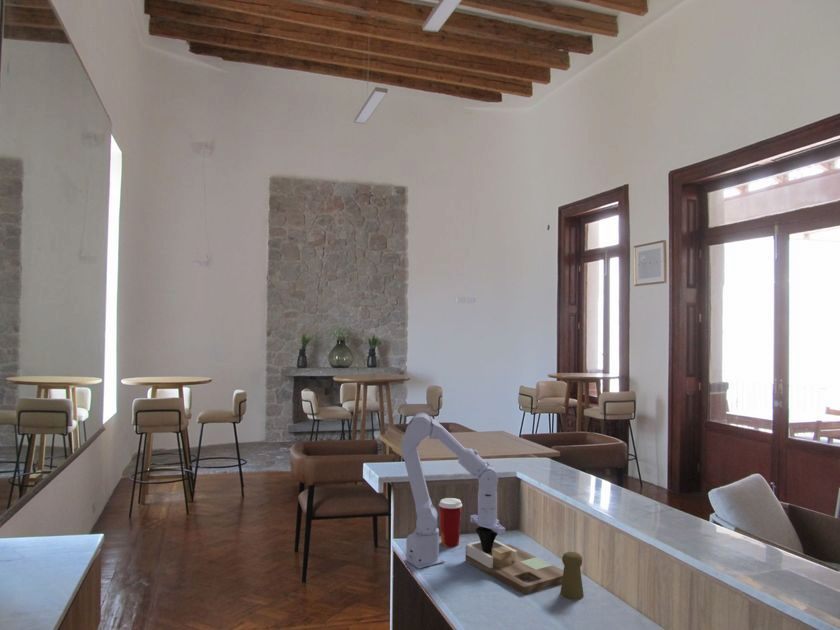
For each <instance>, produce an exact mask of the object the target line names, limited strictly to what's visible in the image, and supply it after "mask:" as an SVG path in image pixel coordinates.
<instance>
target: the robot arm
mask: <svg viewBox="0 0 840 630" xmlns="http://www.w3.org/2000/svg"><path fill="white" fill-rule="evenodd" d="M428 436H429V438H428V439H430V440H438V441H440V442H441V443H442V444H443V445H444V446H445V447H447V448H448V449H449V450H450V451H451V452H453V453H454V454H455V455H456V456H457V463H458V464H459V465H460V466H461V467H463V469H464V470H466V471H467V472H468V473H469V474H470V475H471V476H472V477H473V478H476V479H477V481H478V491H477V514H472V515H470V517H469V518H470V519H469V520H470V522H471V523H475V524H476V525H477V526H478V527H476V528H475V532H476V534H477V535H478V536H477V537H478V538H479V541H481V545H482V549H483V552H485V553H490V552H491V550H492V546H493V543H494V540H496V538H497V536H505V535H506V527H504V526H503V525H501V523H500V520H499V519H498V491H497V489H498V486H497V485H498V484H499V476H498V474H497V473H498V472H497V471H496V469H495V468H494V467H493V465H492V464H490V462H489V461H485V460H484V459H483V458H482V457H481V456H480V455H479V452H478V450H477V449H472V448H471V447H469V448H468V447H467V448H466V447H464V446H463V445H462V444H461V443H460V442H459V441H458V440H457V438H455V437H454V436H453V435H452V433H450V432H449V431H448V430H447V429H446V428H445V426H443V425H442V424H441V423H439V422H438V420H437V419H434V418H432V417H431V416H430V415H429V414H428V413H426V412H418V413H416V414H415V415H413V417H412V418H411V419H410V421H409V422H408V424H407V427H406V430H405V432H404V435H403V437H402V440H401V443H400V449H401V453H402V456H403V461H404V465H405V469H406V473H407V476H408V480H409V484H410V488H411V493H412V496H413V500H414V505H415V512H416V522H415V526H416V527H415V528H414V531H413V533H410V534H408V535H407V536H406V545H405V546H406V550H405V551H406V556H405V558H404V560H405V561H406V562H408V563H410V564H411V565H412V566H414V567H415V568H417V569H422V568H426V567H430V566H435V565H438V564H442V563H443V564H444V563H445V559H443V558H442V557H440V529H439V528H438V517H439V513H438V510H437V509H436V507H435V506H434V505H433V502H432V499H431V497H430V493H429V489H428V485H427V482H426V477H425V473H424V470H423V466H422V461H421V458H420V455H419V454H420V453H419V451H418V446H419V445H420V444H421V442H422V441H423V440H424V439H426V438H427V437H428Z"/></svg>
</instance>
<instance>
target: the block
mask: <svg viewBox="0 0 840 630" xmlns="http://www.w3.org/2000/svg"><path fill="white" fill-rule="evenodd" d="M492 557H493V563H494V564H496V565H498V566H499V567H503V566H507V565H511V564H512V551H511V550H509V549H507V548H505V547H503V546H502V547H497V548H493V549H492Z"/></svg>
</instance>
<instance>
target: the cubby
mask: <svg viewBox="0 0 840 630" xmlns="http://www.w3.org/2000/svg"><path fill="white" fill-rule="evenodd" d="M506 545H507V544H504V543H502V542H500V541H498V540H496V539H495V540H494V543H493V546H492V549H493V548H497V547H502V546H503V547H505V548H507V549H509V550H511V551H512V561H514V562H516V561H517V551H516V550H514V549H512V548H510V547H508V546H506ZM466 555H468V556H469V557H471V558H473V559H475V560H477V561H478V562H480V563H482V564H484V565H485V566H487V567H489V568H493V557H492V556H490V555H488V554H487V553H485V552H483V549H482V545H481V541H480V540H479V541H475V542H474V541H473V542H470V543H466V544H465V556H466Z"/></svg>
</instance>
